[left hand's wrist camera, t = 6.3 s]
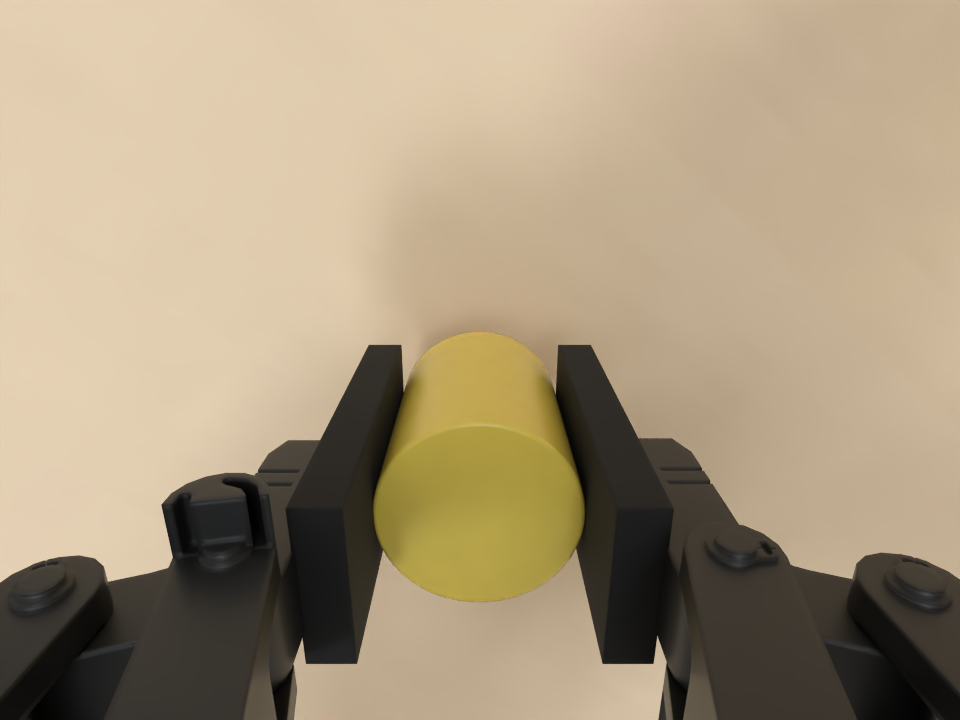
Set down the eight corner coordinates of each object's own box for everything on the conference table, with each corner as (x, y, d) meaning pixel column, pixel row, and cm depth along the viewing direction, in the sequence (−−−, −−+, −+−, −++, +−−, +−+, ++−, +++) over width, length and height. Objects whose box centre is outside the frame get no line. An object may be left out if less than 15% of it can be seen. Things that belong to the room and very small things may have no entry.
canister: (545, 472, 16) (571, 609, 11) (402, 462, 16) (369, 597, 11) (562, 336, 14) (601, 430, 10) (407, 324, 14) (373, 414, 10)
